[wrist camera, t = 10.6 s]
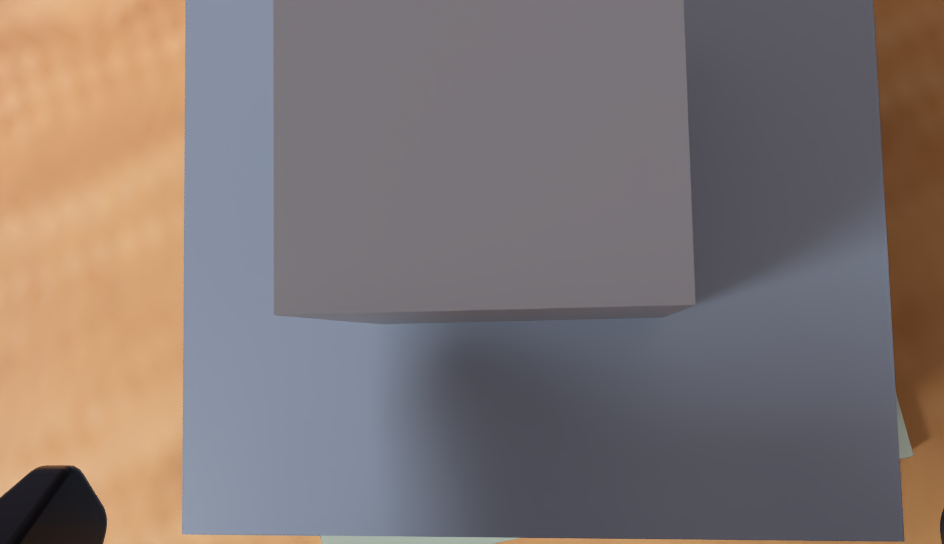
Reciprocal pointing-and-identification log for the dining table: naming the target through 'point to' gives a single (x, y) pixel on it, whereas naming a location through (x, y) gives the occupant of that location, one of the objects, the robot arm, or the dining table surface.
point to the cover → (537, 271)
